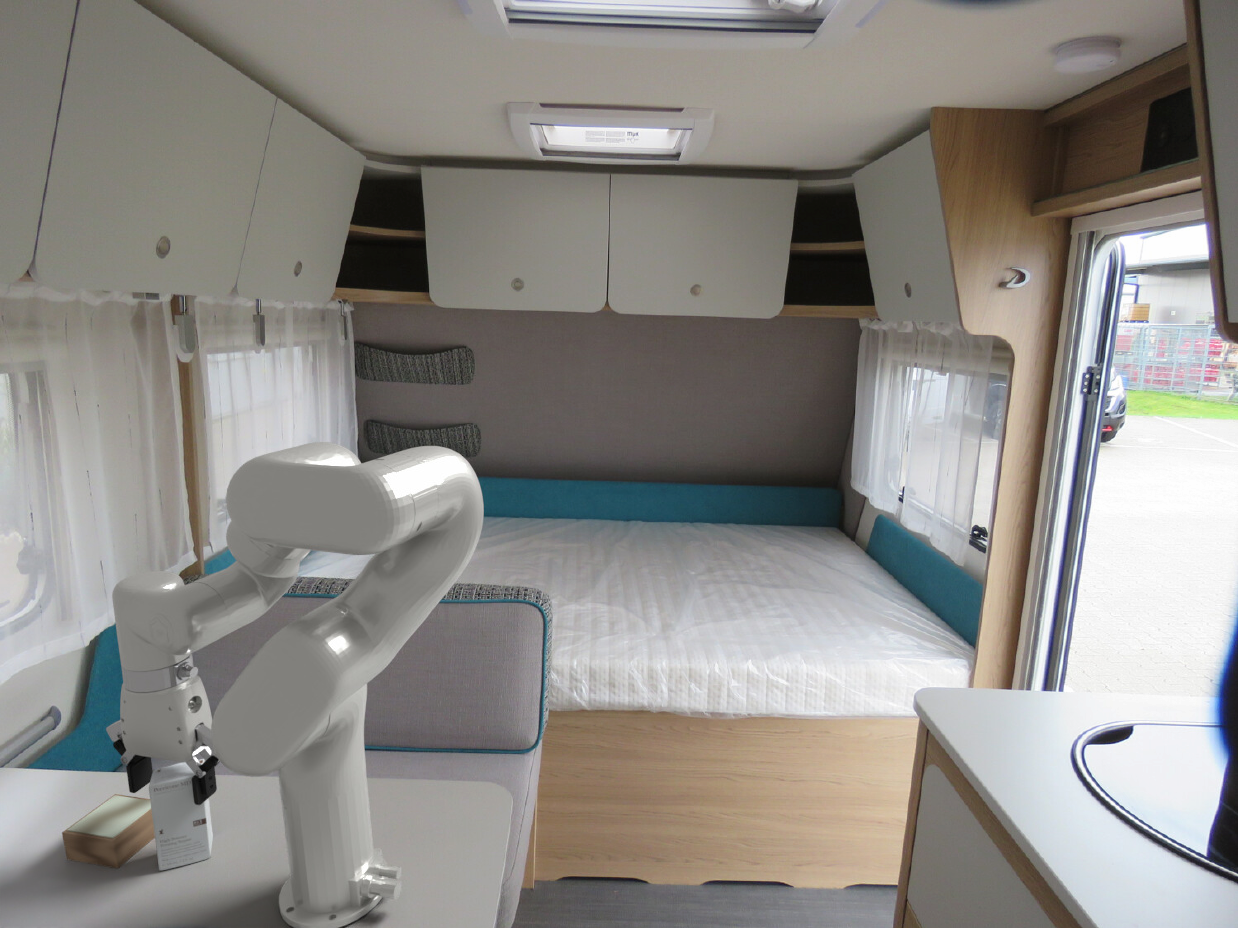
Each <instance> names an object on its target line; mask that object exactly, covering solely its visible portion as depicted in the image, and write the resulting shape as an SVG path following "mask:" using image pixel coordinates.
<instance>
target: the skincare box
mask: <svg viewBox="0 0 1238 928" xmlns="http://www.w3.org/2000/svg"><path fill="white" fill-rule="evenodd" d="M197 760H198V761H199V762H200V763H201V765H202V764H203V763H204V762H205V759H204V758H201V759H197ZM152 770H153V773H152V776H151V780H150V783H149V784H148V792H149V794H148V795H149V799H150V801H151V810H152V818H153V826H154V834H155V838H154V839H155V840H154V842H155V848H156V855H157V862H158V870H159V871H166V870H170V869H173V868H178V867H183V866H187V865H189V864H193V863H197V862H202V861H205V860H209V859H210V858H211V856H212V855H211V854H212V847H213V840H214V834H213V825H212V824H213V823H212V818H211V817H212V816H211V807H210V806H211V805H210V797H209V798H208V799H207V800H206V801H204V802H203V803H202V804H201V805H196V804H195V803H194V797H193V788H192V777H193V776H194V775H195V774H194V772H193V771H192V770H191V769H190V767H189V766H188V765H187V764H186V762H177V763H175V764H171V765H169V766H167V765H166V766H162V767H158V768H154V769H153V768H152Z"/></svg>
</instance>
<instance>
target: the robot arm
mask: <svg viewBox="0 0 1238 928" xmlns="http://www.w3.org/2000/svg"><path fill="white" fill-rule="evenodd" d="M225 502H226V503H225V504H226V510H227V513H228V516H229V518H230V520H231V521H230V522H229V524H228V526H227V529H226V534H225V539H226V545H227V548H228V551H230V554H231V555H232V557H233V558H234V560H235V561H234V562H233V563H232V564H231V565H229V566H228V567H226V568H224V569H222V570H220V571H217V572H214V573H212V574H209V575H207V576H204V577H202V578H200V579H197V580H194V581H192V582H190V583H188V584H185V583H184V580H183V578H182V577H181V576H180V575H179V574H177V573H175V572H171V571H167V570H165V571H164V570H154V571H153V570H152V571H147V572H140V573H136V574H132V575H130V576H126V577H125V578H123V579H121V580H120V581H119V582H118V583H117V584H116V585H115V586H114V588H113V590H112V592H111V593H112V595H111V596H112V597H111V598H112V605H113V606H112V607H113V612H114V622H115V628H116V637H117V643H118V645H117V646H118V653H119V659H120V666H121V674H122V675H121V676H122V681H123V683H122V684H121V691H120V707H119V710H120V711H119V714H120V715H119V716H120V719H119V720H117V721H115V722H113V723H112V724H109V726H107V727H106V728H105V730H106V732H107V735H108V737H109V738H110V739H111V742H113V743H112V745H113V749H114V750H116V752H117V753H118V754H119V755H120V756H121V757H120V762H121V763H122V765H125V766H126V767H125V768H126V775H127V782H128V784H127V785H128V790H129V793H132V794H136V793H137V792H139V791H140V790H142V789H143V788H144V787H145V786H146V787H147V785H149V784H150V780H151V776H152V773H153V763H152V759H157V760H163V761H170V762H177V763H183V762H186V764H187V765H188V766H189V767H190V769H191V770H192V771H193V772H194V774H195V775H194V776H193V777H192V788H193V797H194V803H195V804H196V805H201V804H202V803H203V802H204V801H206V800H207V799H208V798H209V799H210V797H212V796H213V795H214V794H215V793H216V792H217V790H218V785H217V778H216V770H215V769H216V767H217V766H218V765H219V764H220V763H221V764H222V765H223V766H224V767H225V768H226V769H228V770H229V771H231V772H233V773H235V774H237V775H239V776H245V777H250V778H251V777H252V778H253V777H254V778H257V777H264V776H268V775H271V774H273V773H276V772H278V783H279V784H278V785H279V794H280V803H281V809H282V810H281V812H282V818H283V826H284V827H283V828H284V835H285V844H286V851H287V859H288V860H287V861H288V868H289V870H288V871H289V877H288V878H287V879H286V880H285V882H284V883H283V885H282V887H281V889H280V892H279V894H278V895H279V896H278V907H279V912H280V913H279V914H280V915H281V917H282V919H283V921H284V922H285V923H286V924H287V925H289V926H291V927H292V928H342V927H345V926H347V925H349V924H351V923H353V922H355V921H358V920H359V919H360V918H362V917H364V916H365V915H367V914H369V912H370V911H372V910H373V909H374V908H375V907H376V906H377V904H378V903H380V902H381V900H382V899H383V898H385V899H389V900H390V899H391V900H397V899H399V897H400V895H401V892H402V888H403V886H402V885H403V883H402V881H401V880H399V879H400V878H401V877H402V874H403V873H402V872H403V868H402V867H401V866H395V865H388V862H387V861H386V860H385V858H384V857H383V851H382V848H380V847H374V840H373V830H372V820H371V819H372V817H371V807H370V799H369V787H368V779H367V777H368V776H367V763H366V762H367V761H366V751H365V717H366V710H367V709H366V708H367V697H368V683H369V682H371V681H372V680H373V679H374V678H375V677H376V676H378V675H379V674H380V673H382V672H383V671H384V670H385V668H387V666H388V665H389V664H391V663H392V661H393V660H394V658H395V657H396V656H397V654H398V653H399V651H400V650H401V649H402V648H403V646H404V645H405V644H406V643H407V641H408V640H409V639H410V638H411V637H412V636H413V635H414V633H415V632H416V631H417V630H418V629H419V628H420V626H421V625H422V624H423V623H424V622H425V621H426V619H427V618H428V616H429V615H430V614H431V612H432V611H433V610H434V609H435V608H436V606H437V605H438V604H439V603H440V602H441V600H442V599H443V598H444V597H445V596H446V594H448V592H449V591H450V590H451V588H452V587H453V586H454V585H455V584H456V582H457V581H458V579H459V578H460V577H461V575H462V574H463V572H464V571H465V569H466V568H467V565H469V563H470V561H471V559H472V557H473V555H474V553H475V551H476V549H477V545H478V543H479V541H480V538H481V534H482V530H483V525H484V509H485V508H484V498H483V491H482V488H481V484H480V481H479V478H478V476H477V474H476V472H475V470H474V468H473V467H472V465H471V464H470V462H469V461H468V460H467V459H466V458H465V457H464V456H462V454H460V453H459V452H457V451H455V450H453V449H451V448H448V447H444V446H439V445H423V446H416V447H411V448H406V449H403V450H401V451H397V452H394V453H391V454H388V455H384V456H381V457H378V458H375V459H372V460H369V461H365V462H361V460H360V459H359V457H358V456H357V455H356V454H355V453H354V452H353V451H351V450H350V449H349V448H347V447H345V446H343V445H340V444H338V443H333V442H329V441H318V442H317V441H315V442H308V443H304V444H301V445H298V446H292V447H290V448H285V449H284V448H283V449H280V450H277V451H276V450H275V451H273V452H269V453H264V454H261V455H258V456H255V457H253V458H251V459H249V460H247V461H245V463H243V464H241V466H240V467H239V468H238V469H237V470H236V471H235V472H234V474H233V475H232V476H231V479H230V480H229V483H228V485H227V488H226V495H225ZM312 551H314V552H322V553H323V552H325V553H333V554H343V555H349V556H350V555H352V556H367V555H369V556H370V555H373V556H372V557H371V558H370V559H369V560H368V561H367V563H365V566H364V567H363V569H362V570H361V572H360V573H359V574H358V575H357V576H356V577H355V578H354V580H353V581H352V582H351V583H350V584H349V586H348V587H346V589H344V590H343V591H342V592H341V593H340V594H339V595H337V596H336V597H334V598H332V599H331V600H329V601H327V602H326V603H325V602H324V604H322V605H320V606H319V607H317V608H315V609H313V610H311V611H309V612H308V613H306V614H304V615H303V616H300V617H298V618H297V619H295V620H294V621H292V622H290V623H288V624H286V625H285V626H284V627H282V628H280V630H278V631H277V632H276V633H275V634H274V635H272V636H271V637H270V638H269V639H268V640H267V641H266V642H265V643H264V644H263V645H262V646H261V647H260V648H259V649H258V651H256V653H255V655H253V657H252V658H251V660H250V661H249V663H248V664H247V665H246V666H245V668H244V669H243V670H242V672H241V673H240V674H239V676H238V677H237V678H236V680H234V682H233V683H232V685H230V687H229V688H228V690H227V691H226V692H225V694H224V695H223V696H222V698H221V699H220V701H219V703H218V704H217V706H216V708H215V711H214V713H213V715H212V712H211V707H210V706H211V705H210V702H209V698H208V695H207V692H206V689H205V686H204V683H203V681H202V679H201V677H200V676H199V675H198V674H199V668H198V667H196V666H194V658H193V653H196V652H197V651H198V650H199V651H200V650H201V649H203V648H205V647H207V646H209V645H210V644H213V643H214V642H216V641H218V640H220V639H222V638H223V637H225V636H228V635H229V634H232V633H233V632H235V631H237V630H238V629H240V628H243V627H245V626H247V625H249V624H251V623H252V622H255V621H256V620H257V619H259V618H260V617H261V616H263V615H264V614H266V613H267V612H268V611H269V610H270V609H271V608H272V607H273V606H274V605H275V604H276V603H277V602H278V601H279V600H280V599H281V598H282V597H283V596H284V595H285V594H286V593H287V592H288V591H289V590H290V589H291V588H292V587H293V585H294V584H295V582H296V580H297V579H298V575H299V571H300V567H301V566H300V563H301V562H303V560H304V558H306V557H307V556H308V554H309V553H310V552H312ZM212 716H213V717H212ZM195 748H196V749H195ZM199 754H200V756H201V757H202V759H204V760H205V762H204V763H203V764H202V765H201V763H200V762H199V761H198V760H199V759H197V757H196V756H198V755H199Z"/></svg>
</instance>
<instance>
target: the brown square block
mask: <svg viewBox="0 0 1238 928" xmlns="http://www.w3.org/2000/svg"><path fill="white" fill-rule="evenodd" d="M61 835H62V839H63V845H64V851H65V855H66V860H69V861H75V862H78V863H79V862H80V863H86V864H91V865H97V866H101V867H108V868H114V869H119V868H120V867H121V866H123V865H124V864H125V863H126V862H127V861H128V860H130V859H131V858H132V857H133V856H134V855H136V854H137V853H139V851H140V850H142V849H143V848H144V847H145V846H146V845H147V844H149V843H150V842H151V841H153V840H154V839H155V834H154V826H153V818H152V810H151V801H150V798H145V797H144V798H143V797H137V796H130V795H123V794H116V793H115V794H113V795H112V796H110V797H109V798H108V799H106V800H105V801H104V802H102V803H100V805H98V806H97V807H95V808H94V809H92V810H91V811H89V812H88V813H87V814H86V815H84V816H83V817H82V818H80V819H79V820H78V821H76V822H75V823H73V824H72V825H71V826H69V827H67V828H66V829H64V831H62V832H61Z"/></svg>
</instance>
